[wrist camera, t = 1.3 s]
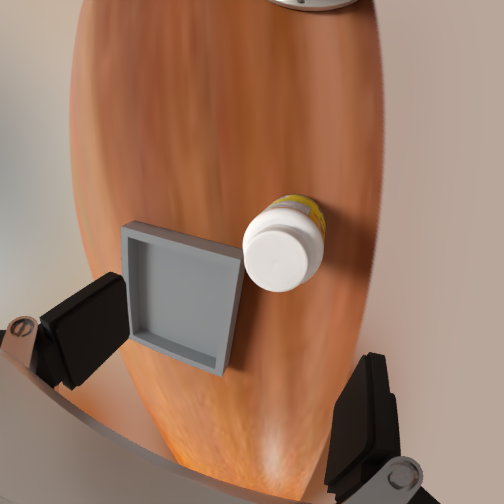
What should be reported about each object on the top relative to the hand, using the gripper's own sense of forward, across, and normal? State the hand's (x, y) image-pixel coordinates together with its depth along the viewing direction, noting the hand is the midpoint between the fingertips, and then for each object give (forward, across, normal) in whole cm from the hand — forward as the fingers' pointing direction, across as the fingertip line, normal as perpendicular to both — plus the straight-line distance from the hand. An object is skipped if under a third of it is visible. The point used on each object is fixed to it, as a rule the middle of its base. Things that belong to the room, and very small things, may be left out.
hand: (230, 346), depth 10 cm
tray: (+18, +11, +12) cm, 24 cm away
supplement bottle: (+18, 0, 0) cm, 18 cm away
